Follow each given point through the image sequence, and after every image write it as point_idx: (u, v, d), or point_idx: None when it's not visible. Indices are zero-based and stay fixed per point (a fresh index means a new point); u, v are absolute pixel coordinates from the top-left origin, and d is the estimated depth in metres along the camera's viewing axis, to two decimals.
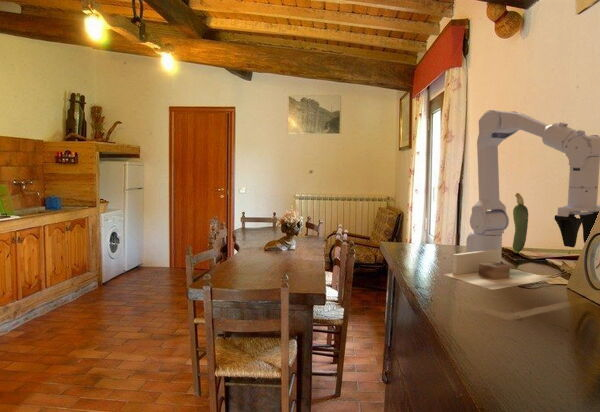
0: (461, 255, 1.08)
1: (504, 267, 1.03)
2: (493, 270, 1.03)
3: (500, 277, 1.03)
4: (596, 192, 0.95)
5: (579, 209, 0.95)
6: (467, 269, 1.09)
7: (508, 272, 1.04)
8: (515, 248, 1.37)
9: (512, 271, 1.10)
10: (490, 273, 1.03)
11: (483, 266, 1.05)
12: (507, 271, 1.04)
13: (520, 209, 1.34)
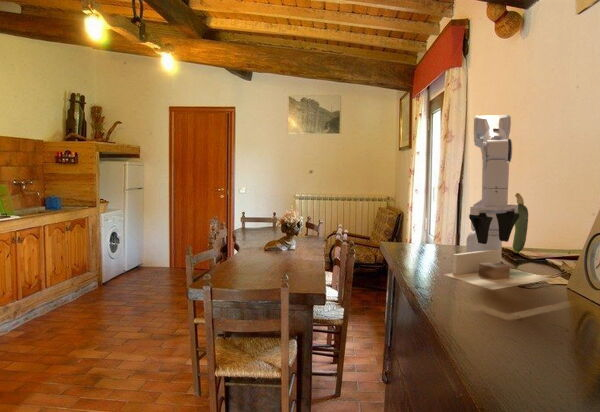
0: (461, 255, 1.08)
1: (504, 267, 1.03)
2: (493, 270, 1.03)
3: (500, 277, 1.03)
4: (505, 192, 1.02)
5: (489, 208, 1.02)
6: (467, 269, 1.09)
7: (508, 272, 1.04)
8: (515, 248, 1.37)
9: (512, 271, 1.10)
10: (490, 273, 1.03)
11: (483, 266, 1.05)
12: (507, 271, 1.04)
13: (520, 209, 1.34)
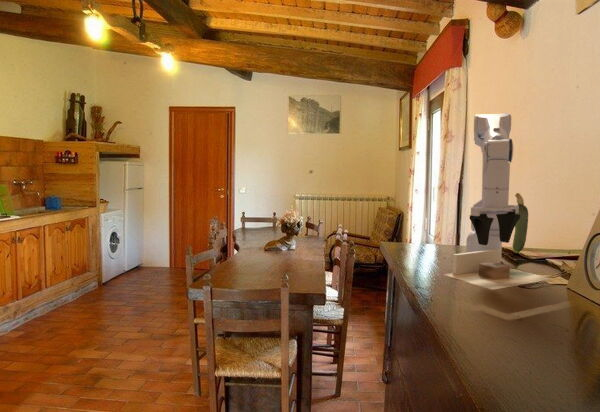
0: (461, 255, 1.08)
1: (504, 267, 1.03)
2: (493, 270, 1.03)
3: (500, 277, 1.03)
4: (506, 193, 1.01)
5: (490, 209, 1.01)
6: (467, 269, 1.09)
7: (508, 272, 1.04)
8: (515, 248, 1.37)
9: (512, 271, 1.10)
10: (490, 273, 1.03)
11: (483, 266, 1.05)
12: (507, 271, 1.04)
13: (520, 209, 1.34)
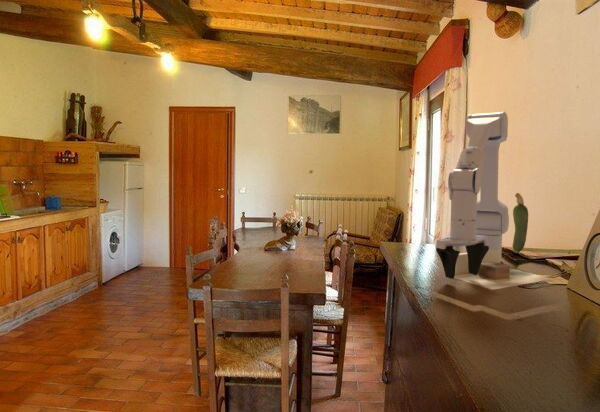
0: (461, 255, 1.08)
1: (504, 267, 1.03)
2: (493, 270, 1.03)
3: (500, 277, 1.03)
4: (473, 225, 0.97)
5: (456, 242, 0.97)
6: (467, 269, 1.09)
7: (508, 272, 1.04)
8: (515, 248, 1.37)
9: (512, 271, 1.10)
10: (490, 273, 1.03)
11: (483, 266, 1.05)
12: (507, 271, 1.04)
13: (520, 209, 1.34)
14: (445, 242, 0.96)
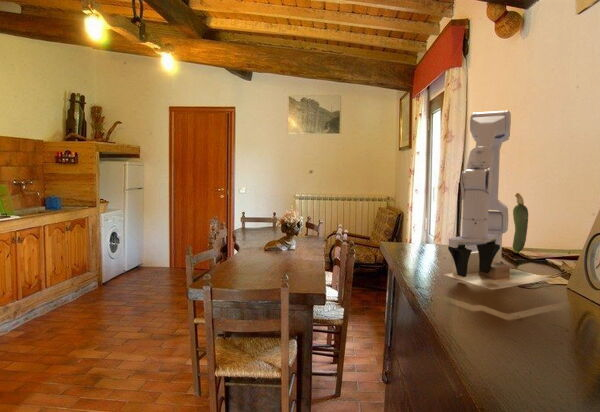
0: None
1: (504, 267, 1.03)
2: (493, 270, 1.03)
3: (500, 277, 1.03)
4: (485, 224, 0.99)
5: (468, 240, 0.98)
6: (467, 269, 1.09)
7: (508, 272, 1.04)
8: (515, 248, 1.37)
9: (512, 271, 1.10)
10: (490, 273, 1.03)
11: None
12: (507, 271, 1.04)
13: (520, 209, 1.34)
14: (457, 241, 0.98)
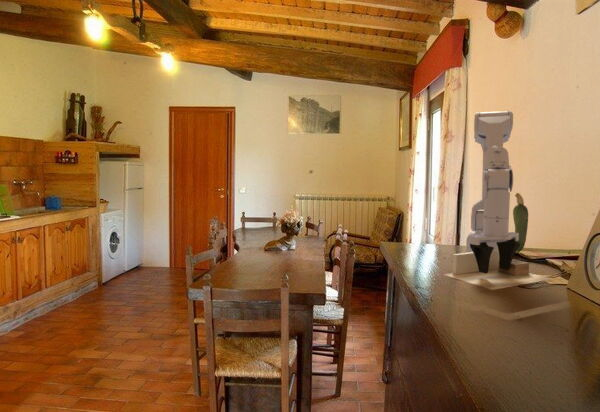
0: (461, 255, 1.08)
1: (524, 264, 1.06)
2: (513, 267, 1.06)
3: (520, 274, 1.06)
4: (506, 222, 1.02)
5: (490, 238, 1.01)
6: (467, 269, 1.09)
7: (527, 269, 1.07)
8: None
9: None
10: (511, 270, 1.06)
11: None
12: (526, 268, 1.07)
13: (520, 209, 1.34)
14: (480, 238, 1.01)
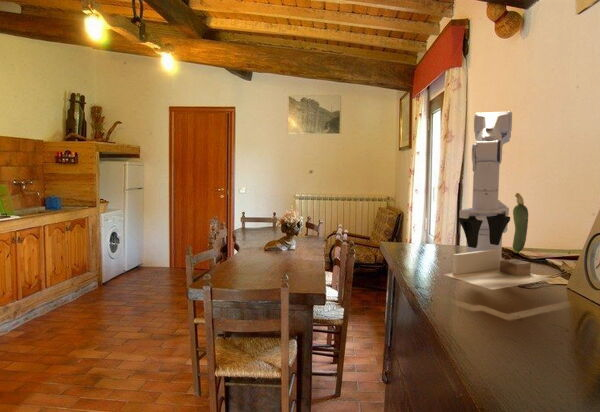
0: (461, 255, 1.08)
1: (525, 264, 1.07)
2: (514, 267, 1.06)
3: (521, 274, 1.06)
4: (496, 195, 1.00)
5: (479, 211, 0.99)
6: (467, 269, 1.09)
7: (529, 269, 1.07)
8: (515, 248, 1.37)
9: None
10: (512, 270, 1.07)
11: (504, 263, 1.08)
12: (528, 268, 1.07)
13: (520, 209, 1.34)
14: (468, 212, 0.99)
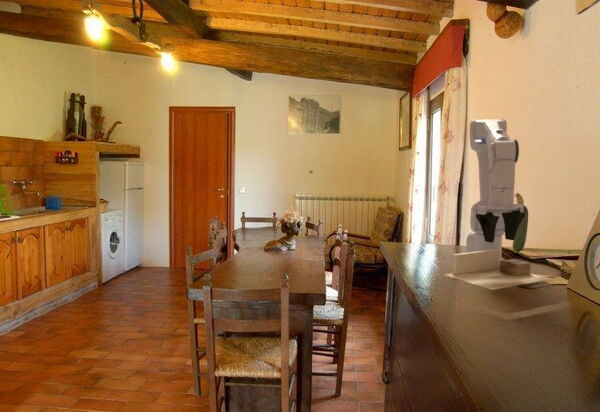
0: (461, 255, 1.08)
1: (525, 264, 1.07)
2: (514, 267, 1.06)
3: (521, 274, 1.06)
4: (512, 192, 1.05)
5: (496, 208, 1.04)
6: (467, 269, 1.09)
7: (529, 269, 1.07)
8: (515, 248, 1.37)
9: None
10: (512, 270, 1.07)
11: (504, 263, 1.08)
12: (528, 268, 1.07)
13: None
14: (486, 208, 1.04)
